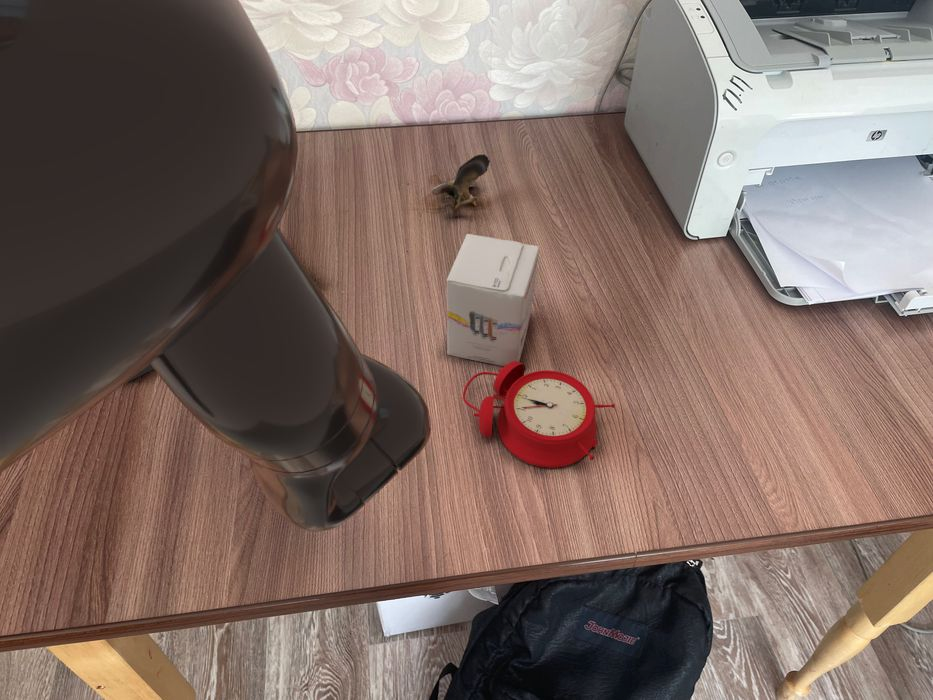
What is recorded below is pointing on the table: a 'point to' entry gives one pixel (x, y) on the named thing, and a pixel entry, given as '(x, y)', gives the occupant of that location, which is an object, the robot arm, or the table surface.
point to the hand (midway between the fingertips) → (112, 190)
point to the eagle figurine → (463, 183)
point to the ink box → (490, 299)
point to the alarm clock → (540, 415)
